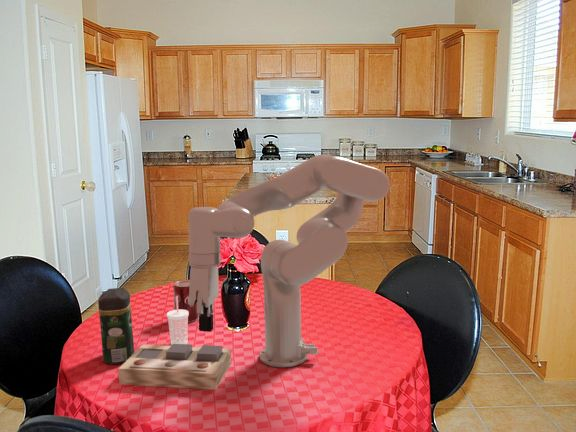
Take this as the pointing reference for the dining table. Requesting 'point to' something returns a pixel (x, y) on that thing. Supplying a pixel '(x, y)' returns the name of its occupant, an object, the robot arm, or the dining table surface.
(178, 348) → the middle button
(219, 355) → the button
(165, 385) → the button board
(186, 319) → the beverage cup
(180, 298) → the soda can
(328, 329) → the dining table surface
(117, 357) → the coffee jar
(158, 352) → the button
